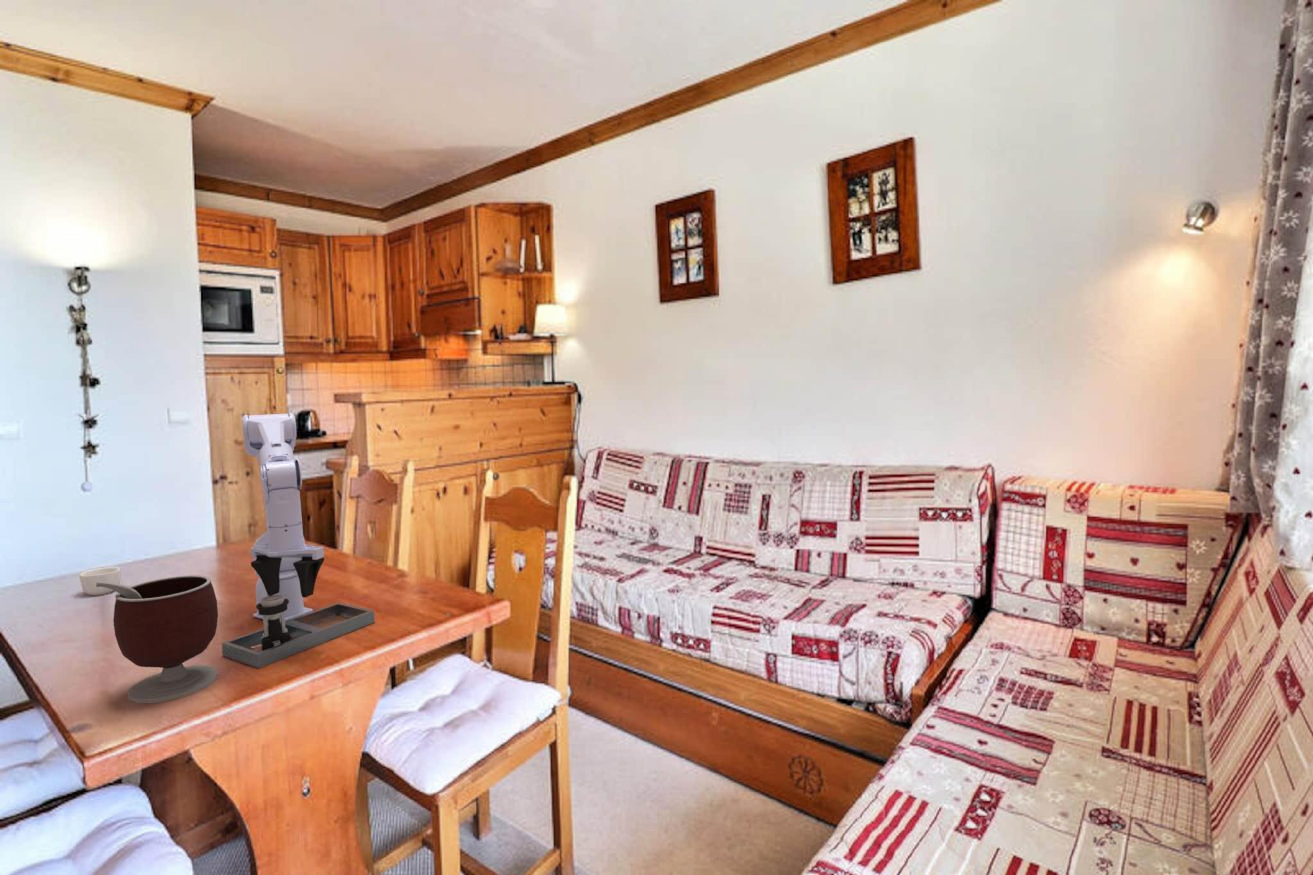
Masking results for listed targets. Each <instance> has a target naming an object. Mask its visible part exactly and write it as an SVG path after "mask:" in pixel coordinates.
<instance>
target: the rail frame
mask: <svg viewBox="0 0 1313 875" xmlns="http://www.w3.org/2000/svg"><path fill="white" fill-rule="evenodd" d="M344 617H345V618H344ZM375 622H376V620H375V610H373V609H372V610H371V609H368V608H362V607H359V606H355V605H351V604H346V603H342V602H336V603H333V604H331V605H329V606H328V605H327V606H325V607H322V608H319V609H317V610H313V611H312V612H310V613H307V614H304V615H301V616H298V617H295V618H292V619H289V620H286V621H285V627H286V628H287V631H288V632H289V634H290V635H291V641H288V642H285V643H283V644H280V645H277V646H275V647H272V648H269V649H267V650H264V651H260V652H257V651H255V650H253V649H252V648H251V647H252V646H256V645H259V644H261V637H263V634H264V628H261V629H259V630H255V631H253V632H250V633H249V632H248V633H247V634H244V635H240V636H238V637H235V638H232V639H230V640H226V641H224V642H221V649H222V650H221V651H222V657H224V658H228V659H231V660H233V661H236V662H239V663H242V664H244V665H248V666H250V667H253V668H256V669H260V668H262V667H263V668H264V667H265V666H269V665H270V664H273V663H276V662H278V661H280V660H283V659H285V658H288V657H290V656H293V655H295V654H298V653H301V652H303V651H305V650H306V651H307V650H308V649H311V648H314V647H315V646H319V645H321V644H324V643H326V642H329V641H331V640H333V639H336V638H339V637H341V636H344V635H346V634H349V633H352V632H354V631H357V630H359V629H362V628H364V627H367V626H369V625H372V624H374V623H375ZM280 624H281V623H280ZM250 648H251V649H250Z"/></svg>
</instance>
